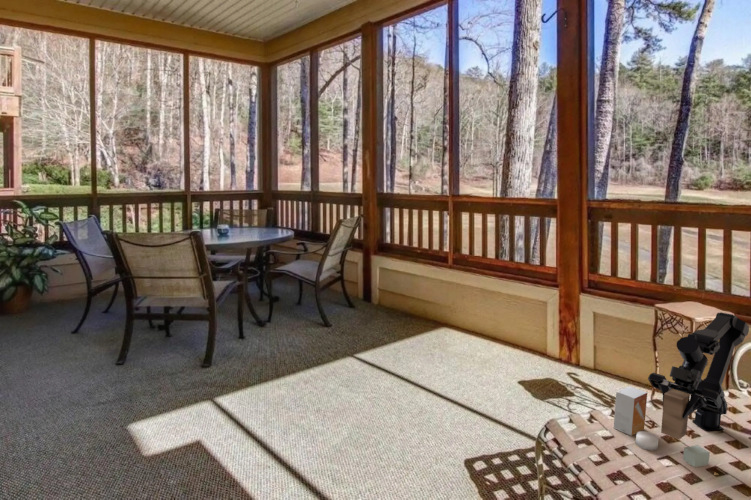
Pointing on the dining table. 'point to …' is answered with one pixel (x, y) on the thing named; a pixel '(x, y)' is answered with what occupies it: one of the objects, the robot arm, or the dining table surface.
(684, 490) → the dining table surface
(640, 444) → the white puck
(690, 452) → the sage block
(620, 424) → the small box
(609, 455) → the dining table surface
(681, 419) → the walnut block
